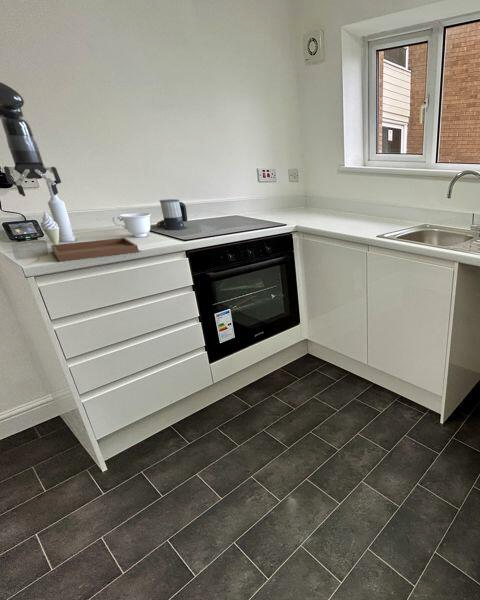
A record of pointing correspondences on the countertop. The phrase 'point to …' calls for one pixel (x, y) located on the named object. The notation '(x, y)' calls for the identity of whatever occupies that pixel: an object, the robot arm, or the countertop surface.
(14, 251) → the countertop surface
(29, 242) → the countertop surface
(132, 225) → the teacup
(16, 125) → the robot arm
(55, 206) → the bottle
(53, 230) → the ice cream cone
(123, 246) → the serving tray
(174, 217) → the milk frother
